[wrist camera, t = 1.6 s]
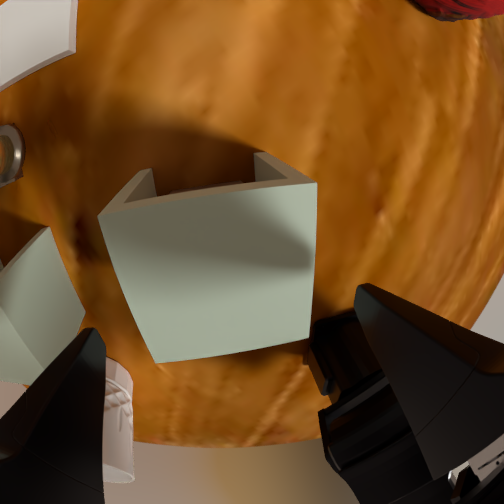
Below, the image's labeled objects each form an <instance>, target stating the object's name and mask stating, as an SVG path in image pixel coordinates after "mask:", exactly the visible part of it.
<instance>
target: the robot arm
mask: <svg viewBox="0 0 504 504" xmlns="http://www.w3.org/2000/svg"><path fill="white" fill-rule="evenodd" d="M354 309H355V311H354V312H350V313H346V314H343V315H339V316H335V317H331V318H327V319H323V320H319V321H317V322H315V324H314V326H313V334H312V342H311V343H310V345H309V350H308V358H307V363H308V365H309V368H310V370H311V372H312V374H313V377H314V379H315V381H316V384H317V386H318V388H319V391H320V393H321V395H323V396H326V395H328V396H329V398H330V400H331V403H332V405H330V406H329V407H327V408H325V409H322V410H320V411H318V417H319V425H320V430H321V436H322V441H323V447H324V453H325V458H326V460H327V462H328V463H329V464H330V465H331V467H332V468H333V470H334V471H335V472H336V473H338V474H339V475H340V476H341V477H342V478H343V479H344V480H345V481H346V482H347V484H348V485H349V486H350V488H351V489H352V491H353V492H354V494H355V496H356V497H357V499H358V501H359V503H360V504H504V344H503V343H500V342H498V341H495V340H493V339H490V338H488V337H485V336H483V335H480V334H478V333H475V332H473V331H470V330H468V329H466V328H464V327H462V326H460V325H457V324H455V323H453V322H451V321H450V322H449V320H447V319H445V318H443V317H441V316H439V315H437V314H434V313H432V312H430V311H428V310H426V309H424V308H422V307H420V306H418V305H415V304H413V303H411V302H409V301H407V300H405V299H403V298H400V297H398V296H396V295H394V294H392V293H390V292H388V291H385V290H383V289H381V288H379V287H377V286H374V285H372V284H370V283H365V284H361V285H358V287H357V289H356V294H355V300H354ZM105 391H106V346H105V343H104V341H103V340H102V338H101V336H100V334H99V333H98V331H97V329H96V328H85V329H83V330H82V331H81V332H80V333H79V334H78V335H77V336H76V337H75V338H74V339H73V340H72V341H71V342H70V343H69V344H68V345H67V347H66V348H65V349H64V350H63V351H62V352H61V353H60V354H59V355H58V356H57V357H56V358H55V359H54V360H53V361H52V362H51V363H50V364H49V365H48V367H47V368H46V369H45V370H44V371H43V372H42V373H41V374H40V375H39V376H38V377H37V379H36V380H35V381H34V382H33V383H32V384H31V385H30V386H29V388H28V389H27V390H26V392H24V393H23V395H22V396H21V397H20V398H19V399H18V400H17V402H16V403H15V404H14V405H13V406H12V407H11V408H10V409H9V410H8V411H7V412H6V414H5V415H3V417H2V418H1V419H0V504H105V500H104V493H103V492H104V489H103V462H102V446H103V418H104V403H105ZM466 461H468V463H469V465H468V466H467V467H466V468H465V469H463V470H462V471H461V472H459V475H458V478H457V480H456V478H455V476H454V475H453V473H452V470H453V469H455V468H457V467H458V466H460V465H461V464H463V463H465V462H466Z"/></svg>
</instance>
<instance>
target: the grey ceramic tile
mask: <svg viewBox="0 0 504 504" xmlns="http://www.w3.org/2000/svg"><path fill="white" fill-rule="evenodd" d="M77 6H78V0H8V1H6V2H5V3H4V4H2V5H1V6H0V92H1V91H2V90H4V89H6V88H7V87H9V86H10V85H12V84H14V83H15V82H17V81H19V80H20V79H22V78H24V77H26V76H28V75H29V74H31V73H33V72H35V71H37V70H39V69H41V68H43V67H45V66H47V65H49V64H51V63H53V62H55V61H57V60H60V59H62V58H64V57H66V56H69V55H71V54H74V53H76V20H77Z"/></svg>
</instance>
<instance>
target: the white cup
mask: <svg viewBox="0 0 504 504" xmlns="http://www.w3.org/2000/svg"><path fill="white" fill-rule="evenodd" d="M132 391H133V380H132V378H131V376H130V374H129V372H128V371H127V370H126V369H125V368H124V367H122V366H121V365H120V364H119V363H118V362H116V361H114V360H112V359H110V358H108V357H106V391H105V403H104V418H103V446H102V462H103V481H107V482H114V483H115V482H116V483H129V482H132V481H134V480H135V474H134V457H133V409H132Z"/></svg>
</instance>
